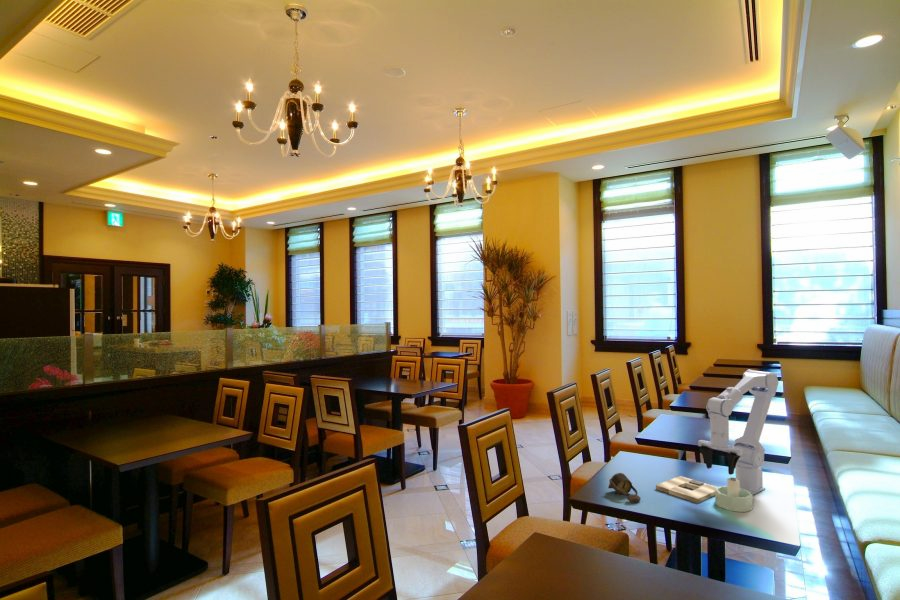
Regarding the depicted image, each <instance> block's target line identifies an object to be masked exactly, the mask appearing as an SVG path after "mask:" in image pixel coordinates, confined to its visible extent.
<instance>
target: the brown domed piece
mask: <svg viewBox="0 0 900 600" xmlns="http://www.w3.org/2000/svg"><path fill="white" fill-rule="evenodd" d="M608 481H609V484H608V489H612V490H614V491H615V493H617V494H618V495H619V496H626V498H627V501H629V503H630V502H631V503H638V502H640V501H641V500H642V499H641V497H640V496H639V495H638V494H639V493H638V491H637V489H636V488H635V487H634V486H633V483H632V482H631V480H630V479H629V478H628V477H627V476H626V475H625V474H624V473H622V472H617V473H615V474H613V475H612V476H611V478H609V480H608ZM631 490H632V491H633V492H634V493H635V494H633V493H632V494H631V493H630V492H631Z"/></svg>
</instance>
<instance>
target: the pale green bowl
mask: <svg viewBox="0 0 900 600" xmlns="http://www.w3.org/2000/svg"><path fill="white" fill-rule="evenodd" d="M717 487H718V488H716V489H715V496H714V498H715V504H716V506H717V507H720V508H722V509H723V510H727V511H731V512H735V513H748V512H750V511H752V510H753V494H751V493H750V492H749V491H748V490H744V489H741V488H739V497H732V496H728V495H727V485H720V486H717Z"/></svg>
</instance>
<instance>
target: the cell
mask: <svg viewBox="0 0 900 600" xmlns="http://www.w3.org/2000/svg"><path fill="white" fill-rule="evenodd" d="M726 483H727V484H726V486H727V495H728V496H732V497H739V480H737V479H736V477H729V478H728V477H727V481H726Z"/></svg>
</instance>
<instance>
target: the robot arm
mask: <svg viewBox="0 0 900 600" xmlns="http://www.w3.org/2000/svg"><path fill="white" fill-rule="evenodd" d="M778 386H779V379H778V376H777V374H776V373H775V372H772V371H771V372H769V371H762V370H761V371H760V370H754V369H747V370H746V371H744V372H743V374H742V378H741V379H740V381H739V382H737V384H736V385H734V387H733V386H728V387H726V388H725V390H724V391H722V392H721V393H720V394H718V395H717V396H716V397H711V398H709V399H708V400H707V402H706V406H705V408H706V411H707V413H708V415H707V416H708V418H709V421H710V423H709V425H710V427H709V428H710V429H709V430H710V435H709V436H710V440H705V439H700V440H698V441H697V443H698V444H697V446H698V447H700V448H699V451H700V453H701V455H702V457H703V459H704V461H705V465H706V469H711V468H712V467H713V452H714V450H716V451H721V452H725V453H728V454H726V459H727V464H728V465H727V467H728V469H727V470H728V475H730V476H731V475H733V474H734V473H735V478H736V479H737V480H739V488H741V489H744V490H748V491H749V492H750V493H751V494H752V496H753V495H756V494H758V493H760V492H762V491H764V490H766V487H765V486H764V485H763V483H764V482H763V481H764V480H763V479H764V478H763V469H762V468H761V467H762V465H763V464H764V462H765V452H766V449H765V447H764V446H763V445H762V443H761V442H760V439H761V435H762V433H763V429H764V426H765V423H766V420H767V416H768V412H769V410H770V409H769V408H770V405H771V403H772V399H773V398H774V397H775V396H776V393H777V389H778ZM747 392H749V393H750V394H752V395H753V396H754V400H753V402H752V405H751V409H750V411H749V415H748V418H747V422H746V425H745V428H744V432H743V435H741V436H740V437H738V438H735V439H734V442H733V444H732V445H731V444H730V433H729V432H730V431H729V429H730V427H729V426H730V420H729V416H731V414H732V412H733V409H734V408H735V406H736V405H737V404H738V403H740V402H741V401H742V399H743V395H744V394H746V393H747Z"/></svg>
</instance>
